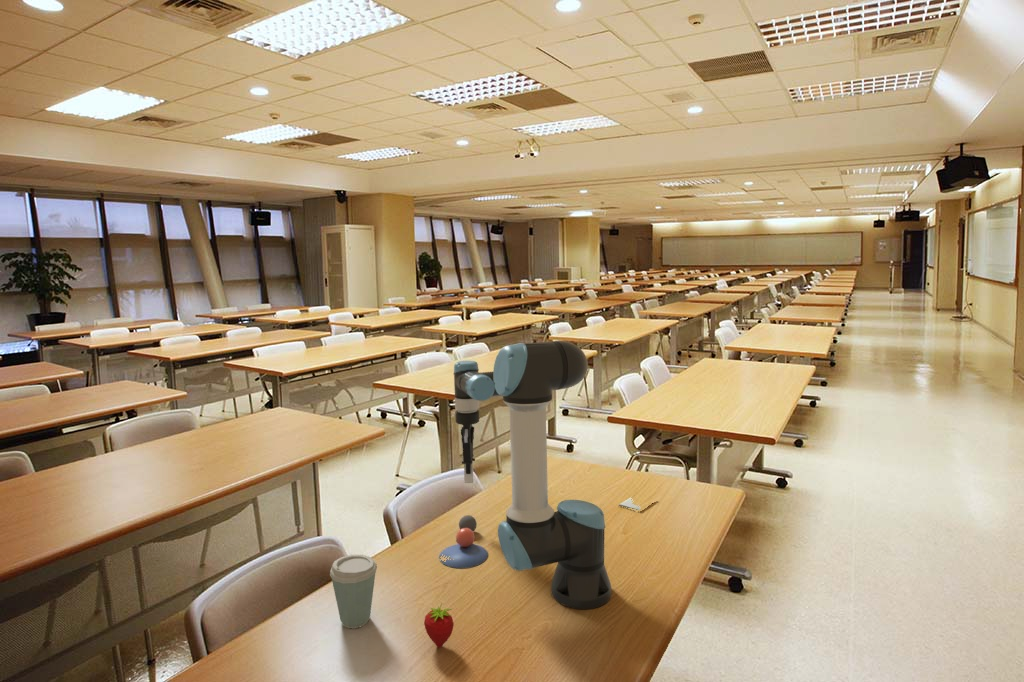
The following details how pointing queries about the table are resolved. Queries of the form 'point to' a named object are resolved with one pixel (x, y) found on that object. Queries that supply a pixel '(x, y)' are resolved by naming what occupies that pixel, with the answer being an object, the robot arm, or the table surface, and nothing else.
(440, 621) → the strawberry
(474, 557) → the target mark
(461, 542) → the red ball
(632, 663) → the table surface
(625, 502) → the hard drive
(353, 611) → the disposable coffee cup
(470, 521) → the grey ball
